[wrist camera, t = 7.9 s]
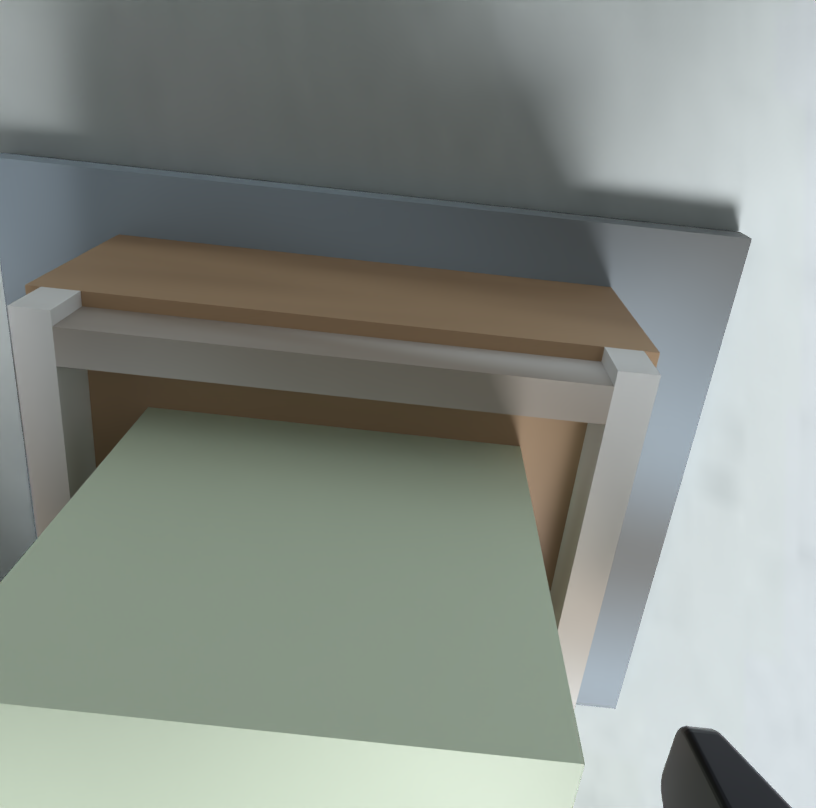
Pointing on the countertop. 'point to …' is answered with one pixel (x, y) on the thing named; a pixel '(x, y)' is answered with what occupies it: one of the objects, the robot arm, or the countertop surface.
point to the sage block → (286, 628)
